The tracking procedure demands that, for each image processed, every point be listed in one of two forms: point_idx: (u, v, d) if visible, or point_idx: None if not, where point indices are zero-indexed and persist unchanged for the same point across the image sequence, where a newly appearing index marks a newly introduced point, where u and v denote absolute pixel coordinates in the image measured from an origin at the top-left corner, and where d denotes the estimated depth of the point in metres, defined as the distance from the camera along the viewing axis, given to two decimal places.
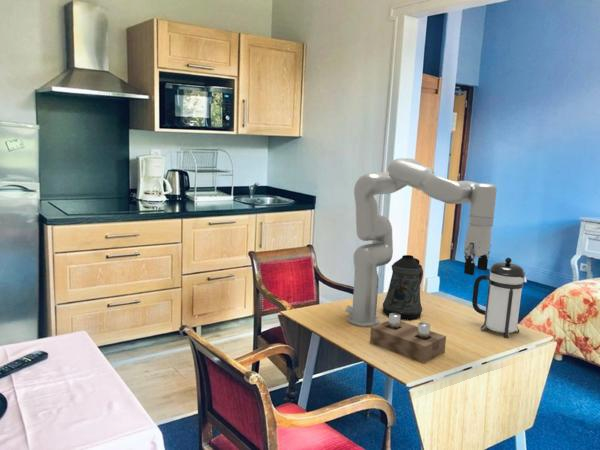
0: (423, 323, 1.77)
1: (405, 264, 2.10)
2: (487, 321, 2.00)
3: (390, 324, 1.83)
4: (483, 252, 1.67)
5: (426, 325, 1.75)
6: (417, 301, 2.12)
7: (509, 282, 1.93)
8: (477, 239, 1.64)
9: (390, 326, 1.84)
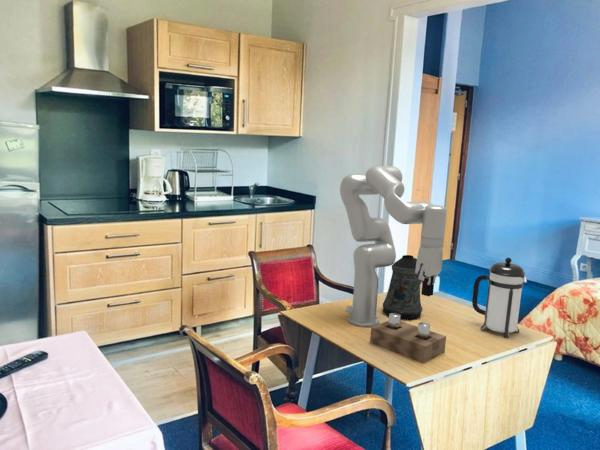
0: (423, 323, 1.77)
1: (405, 264, 2.10)
2: (487, 321, 2.00)
3: (390, 324, 1.83)
4: (434, 272, 1.71)
5: (426, 325, 1.75)
6: (417, 301, 2.12)
7: (509, 282, 1.93)
8: (427, 260, 1.68)
9: (390, 326, 1.84)
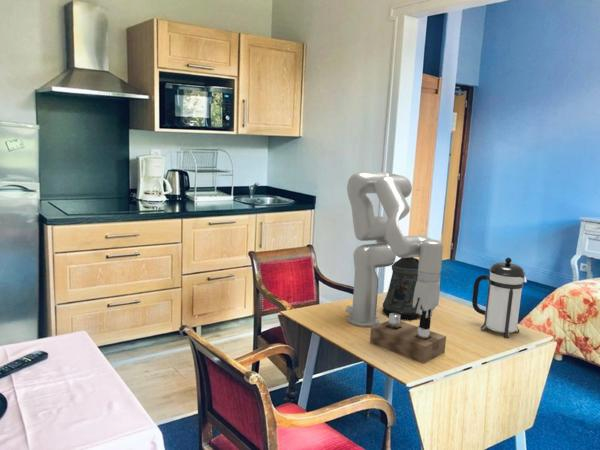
0: None
1: (405, 264, 2.10)
2: (487, 321, 2.00)
3: (390, 324, 1.83)
4: (431, 306, 1.73)
5: None
6: None
7: (509, 282, 1.93)
8: (424, 294, 1.70)
9: (390, 326, 1.84)
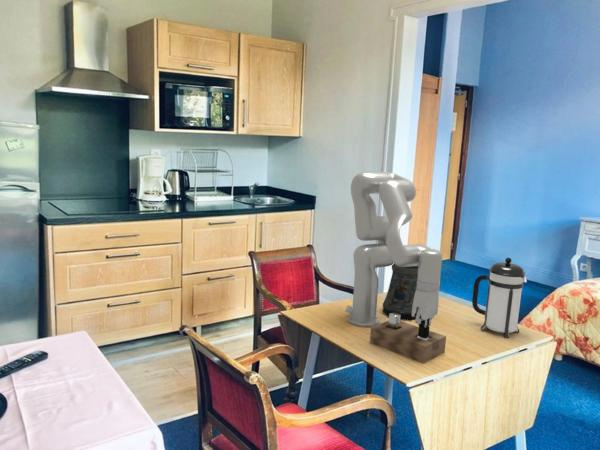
0: None
1: None
2: (487, 321, 2.00)
3: (390, 324, 1.83)
4: (430, 315, 1.74)
5: None
6: None
7: (509, 282, 1.93)
8: (423, 304, 1.70)
9: (390, 326, 1.84)
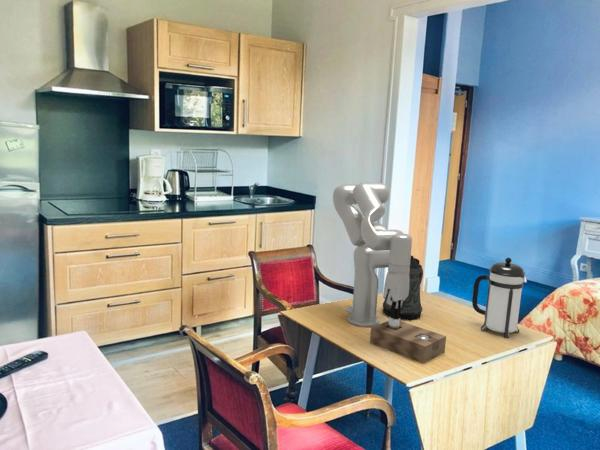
0: (422, 335, 1.78)
1: None
2: (487, 321, 2.00)
3: (390, 327, 1.84)
4: (401, 297, 1.81)
5: (425, 337, 1.76)
6: (417, 301, 2.12)
7: (509, 282, 1.93)
8: (394, 285, 1.78)
9: None
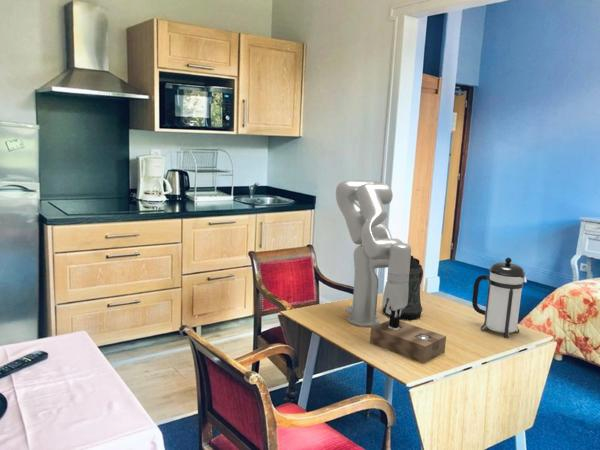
0: (422, 335, 1.78)
1: None
2: (487, 321, 2.00)
3: None
4: (400, 306, 1.82)
5: (425, 337, 1.76)
6: (417, 301, 2.12)
7: (509, 282, 1.93)
8: (393, 295, 1.78)
9: None
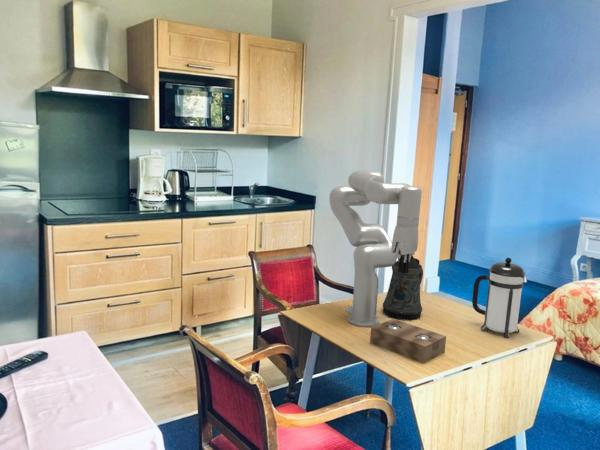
0: (422, 335, 1.78)
1: None
2: (487, 321, 2.00)
3: None
4: (409, 251, 1.78)
5: (425, 337, 1.76)
6: (417, 301, 2.12)
7: (509, 282, 1.93)
8: (402, 238, 1.75)
9: None
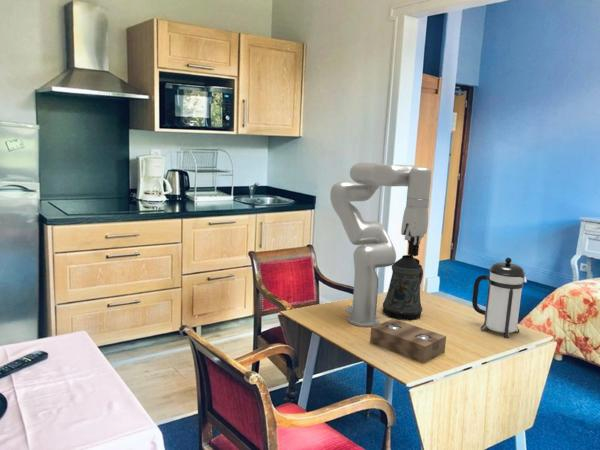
0: (422, 335, 1.78)
1: (405, 264, 2.10)
2: (487, 321, 2.00)
3: None
4: (419, 232, 1.76)
5: (425, 337, 1.76)
6: (417, 301, 2.12)
7: (509, 282, 1.93)
8: (412, 220, 1.73)
9: None
